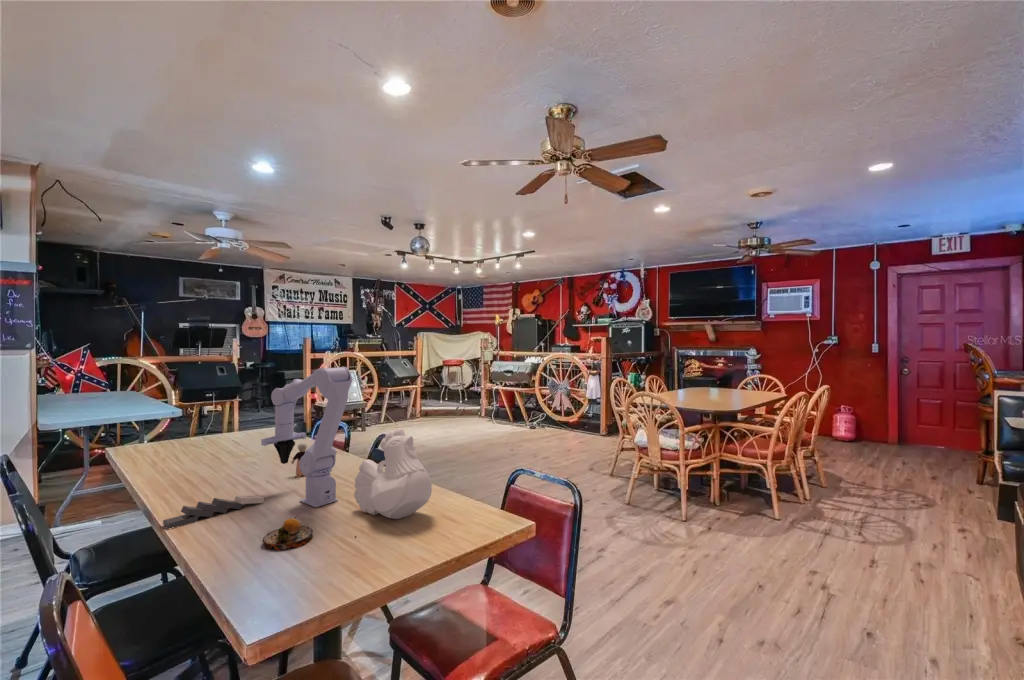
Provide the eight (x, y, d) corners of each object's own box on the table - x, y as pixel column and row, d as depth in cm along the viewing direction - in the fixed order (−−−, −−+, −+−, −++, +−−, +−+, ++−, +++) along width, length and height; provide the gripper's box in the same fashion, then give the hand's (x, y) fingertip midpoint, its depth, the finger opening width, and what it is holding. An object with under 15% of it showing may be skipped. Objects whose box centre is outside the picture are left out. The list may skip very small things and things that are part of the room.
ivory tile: (264, 497, 148) (242, 498, 143) (262, 503, 148) (240, 503, 142) (257, 495, 150) (235, 495, 145) (256, 500, 150) (234, 501, 144)
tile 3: (214, 511, 137) (189, 508, 131) (211, 517, 136) (186, 514, 131) (208, 508, 139) (183, 505, 134) (205, 514, 138) (180, 511, 133)
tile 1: (242, 503, 143) (220, 500, 138) (240, 509, 142) (217, 506, 137) (236, 501, 145) (213, 497, 140) (234, 506, 145) (211, 503, 139)
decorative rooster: (448, 496, 136) (423, 422, 148) (405, 500, 123) (382, 419, 136) (397, 533, 146) (378, 460, 158) (353, 540, 134) (336, 461, 146)
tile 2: (228, 507, 140) (204, 504, 134) (225, 513, 139) (202, 510, 134) (222, 504, 142) (198, 501, 137) (219, 510, 141) (196, 507, 136)
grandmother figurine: (295, 479, 173) (295, 445, 173) (290, 477, 176) (290, 443, 176) (314, 474, 179) (314, 441, 179) (309, 472, 182) (309, 440, 182)
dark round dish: (300, 528, 129) (300, 501, 129) (321, 540, 122) (321, 511, 122) (254, 542, 120) (254, 513, 120) (274, 556, 112) (274, 525, 112)
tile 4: (197, 515, 133) (168, 523, 127) (197, 521, 133) (168, 529, 127) (191, 512, 135) (163, 520, 130) (191, 518, 135) (163, 526, 130)
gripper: (298, 418, 167) (298, 456, 167) (256, 424, 155) (256, 465, 155) (309, 421, 162) (309, 459, 163) (267, 427, 151) (267, 469, 151)
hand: (284, 463), depth 158 cm, fingers closed
